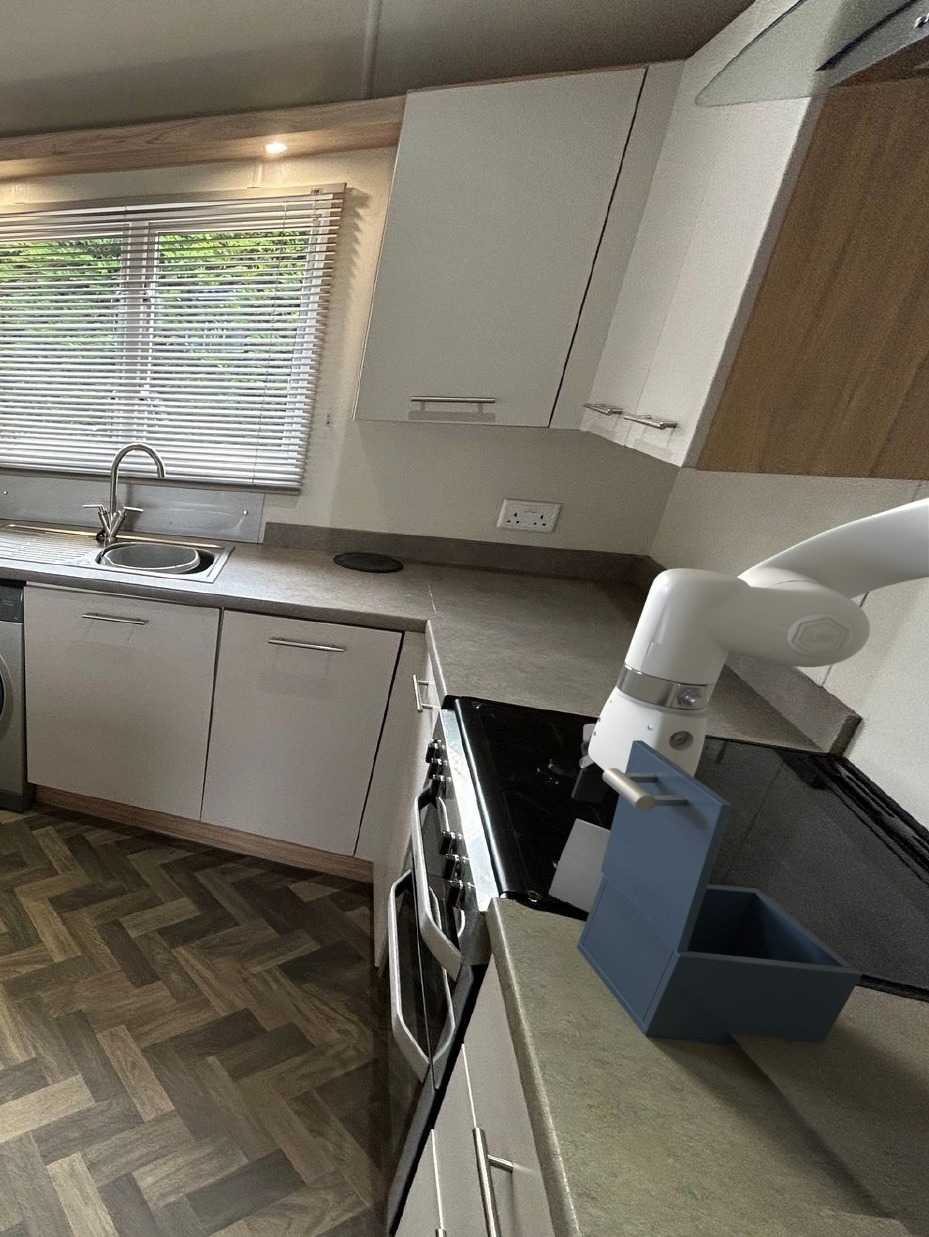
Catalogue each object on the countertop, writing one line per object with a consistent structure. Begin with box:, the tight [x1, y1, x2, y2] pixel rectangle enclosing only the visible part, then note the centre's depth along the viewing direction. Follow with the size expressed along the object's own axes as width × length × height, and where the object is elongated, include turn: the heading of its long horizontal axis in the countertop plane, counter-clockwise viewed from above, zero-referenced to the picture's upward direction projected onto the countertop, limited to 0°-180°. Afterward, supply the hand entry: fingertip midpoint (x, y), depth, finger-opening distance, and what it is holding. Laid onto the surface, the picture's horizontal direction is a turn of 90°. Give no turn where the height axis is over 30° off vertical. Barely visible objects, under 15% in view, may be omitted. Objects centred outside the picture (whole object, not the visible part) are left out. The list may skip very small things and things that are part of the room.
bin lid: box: [601, 740, 733, 952], centre depth 68 cm, size 15×12×5 cm
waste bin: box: [576, 875, 862, 1048], centre depth 71 cm, size 15×12×10 cm
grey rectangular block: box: [548, 818, 611, 914], centre depth 84 cm, size 4×7×10 cm, turn 41°
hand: (610, 823), depth 82 cm, fingers open, 9 cm apart
